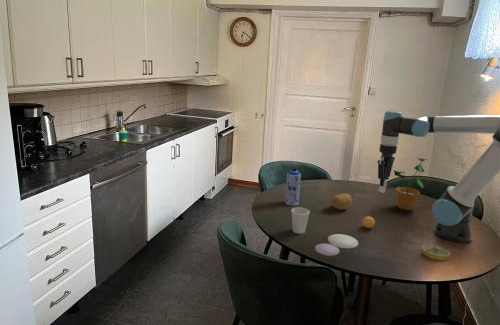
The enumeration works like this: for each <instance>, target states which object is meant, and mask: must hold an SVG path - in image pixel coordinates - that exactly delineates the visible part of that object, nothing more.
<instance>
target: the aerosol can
mask: <svg viewBox="0 0 500 325" xmlns="http://www.w3.org/2000/svg"><path fill="white" fill-rule="evenodd" d="M301 177H302V175H301V172H300V171H298V170H297V167H292V168H291V169H290V170H289V171H287V173H286V180H285V182H286V183H285V184H286V185H285V194H284V196H285V197H284V203H286V204H285V205H288V206H298V205H299V204H300V203H299V201H300V200H299V199H300V191H301V190H300V188H301V179H302V178H301Z"/></svg>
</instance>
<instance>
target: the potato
mask: <svg viewBox="0 0 500 325" xmlns="http://www.w3.org/2000/svg"><path fill="white" fill-rule="evenodd" d="M352 200H353V198H352V196H351V195H350V194H349V193H339V194H337V195H334V196H333V197H332V198H331V200H330V204H331V206H332V207H333V208H335V209H337V210H346V209H348V208H349V207H350V206H351V204H352Z"/></svg>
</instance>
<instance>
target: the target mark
mask: <svg viewBox="0 0 500 325" xmlns="http://www.w3.org/2000/svg"><path fill="white" fill-rule="evenodd" d="M327 241H328V244H331V245H334V246H336V247H337V248H339V249H340V248H341V249H353V248H356V247H358V246H359V241H358V240H357V239H356V238H354V237H353V236H350V235H347V234H343V233H342V234H341V233H337V234H334V233H333V234H331V235H329V236H328V237H327Z"/></svg>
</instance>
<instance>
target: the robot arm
mask: <svg viewBox="0 0 500 325" xmlns="http://www.w3.org/2000/svg"><path fill="white" fill-rule="evenodd" d="M382 120H383V121H382V128H381V129H382V130H381V136H380V144H379V152H380V153H381V156H380V159H378V160H377V165H378V166H377V179H379V186H378V192H379V193H382V194H384V193H386V188H387V182H388V180H390V177H391V172H392V168H393V165H394V161H395V160H396V157H394V154H397V148H398V146H397V145H398V144H399V137H400V135H401V134H402V135H408V136H413V137H415V138H416V137H417V138H418V137H419V138H426V136H427V135H428V134H433V133H434V134H435V133H437V134H484V135H485V134H488V135H489V134H491V135H492V143H491V144H490V145H489V146H488V147H487V148H486V150H485V151H484V152H483V153H482V154H481V156H479V157H478V159H477V160H476V161H475V163H474V164H473V165H472V166H471V167H470V169H469V170H468V171H467V172H466V173H465V175H464V176H463V177H462V178H461V179H460V180H459V181H458V183H457V184H456V185H454V186H453V185H448V186H447V188H446V190H445V192H444V193H443V194H442V195H441V197H440V198H439V199H437V200H435V201H434V203H433V205H432V207H431V214H432V217H433V219H434V220H435V221H436V222H437V223H436V225H435V226H434V233H435V234H436V235H437V236H438V237H440V238H442V239H444V240H446V241H450V242H454V241H455V243H469V242H470V241H471V240H472V236H473V234H472V228H471V220H472V215H473V211H474V207H475V201H476V198H477V197H478V196H479V195H480V194H481V192H483V191H484V189H485V188H486V187H487V186H488V185H489V184H490V182H492V181H493V180H494V179H495V177H496V176H497V175H498V174H500V115H497V114H496V115H449V116H448V115H446V116H443V115H440V116H433V115H431V116H430V115H424V116H420V117H414V118H413V117H404V116H403V113H402V112H401V111H396V110H386V111H385V113H384V117H383V119H382Z"/></svg>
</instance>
